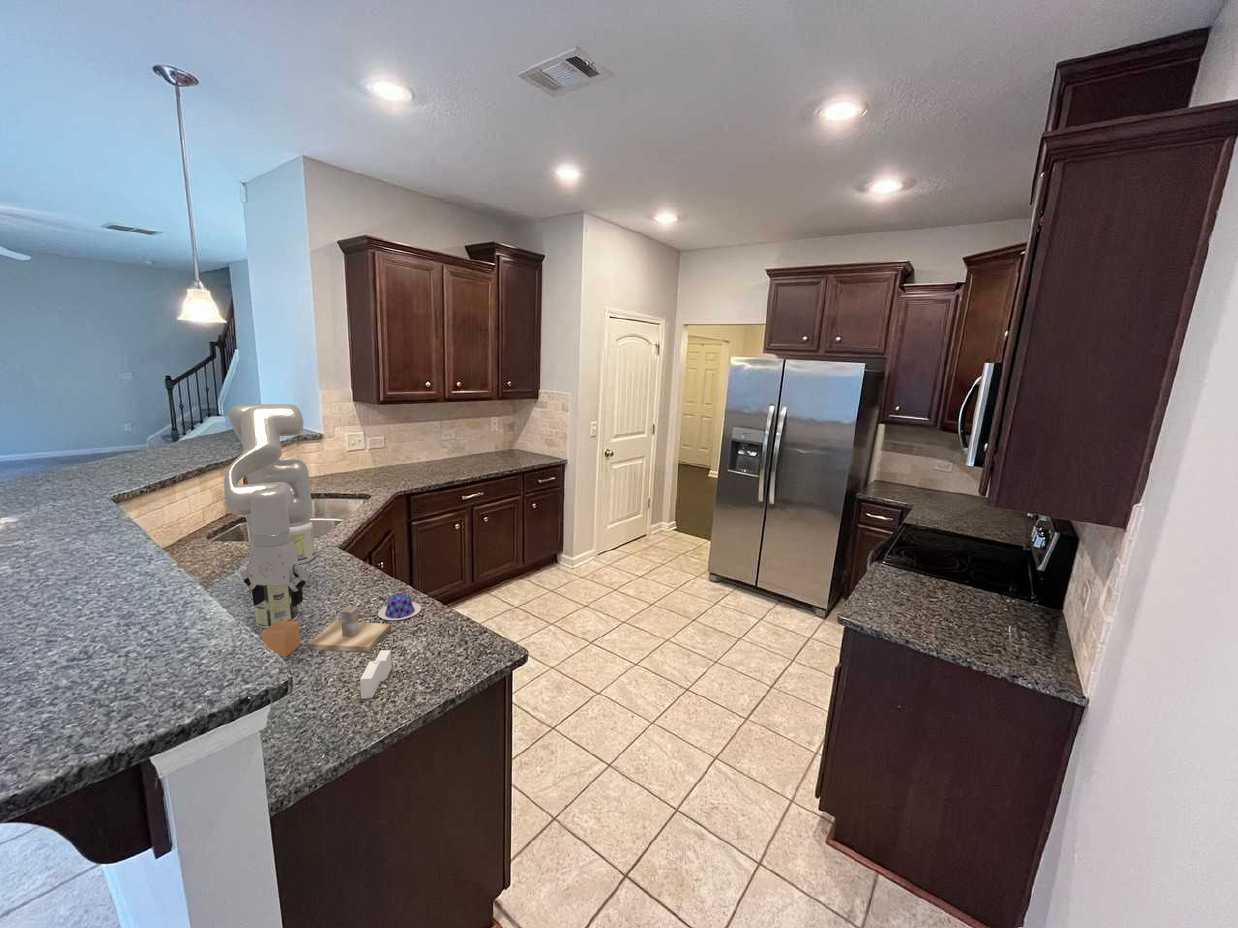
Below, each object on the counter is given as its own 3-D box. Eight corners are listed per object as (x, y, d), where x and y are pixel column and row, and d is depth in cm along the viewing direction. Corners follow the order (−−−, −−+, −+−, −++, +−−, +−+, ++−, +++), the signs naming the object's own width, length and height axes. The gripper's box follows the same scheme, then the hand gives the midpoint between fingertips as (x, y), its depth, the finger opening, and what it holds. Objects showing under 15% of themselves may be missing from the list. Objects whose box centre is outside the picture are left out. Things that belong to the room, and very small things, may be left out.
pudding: (376, 625, 145) (375, 608, 144) (379, 606, 156) (378, 590, 155) (421, 619, 149) (420, 602, 148) (421, 601, 160) (420, 586, 159)
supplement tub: (294, 552, 195) (290, 510, 192) (323, 555, 193) (320, 513, 190) (268, 564, 183) (264, 520, 180) (299, 567, 182) (295, 522, 178)
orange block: (264, 655, 128) (261, 631, 127) (279, 643, 133) (277, 620, 132) (286, 656, 128) (283, 632, 126) (300, 644, 133) (298, 621, 132)
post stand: (308, 649, 131) (305, 618, 130) (335, 625, 143) (332, 597, 142) (369, 652, 131) (367, 621, 129) (390, 628, 143) (389, 600, 141)
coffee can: (281, 608, 152) (276, 564, 149) (306, 615, 149) (303, 569, 146) (246, 624, 142) (241, 577, 140) (273, 631, 139) (268, 583, 136)
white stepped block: (366, 709, 110) (365, 686, 109) (334, 692, 116) (333, 669, 115) (422, 674, 123) (422, 653, 122) (391, 660, 129) (390, 639, 128)
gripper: (225, 542, 121) (233, 609, 124) (296, 544, 121) (302, 611, 124) (249, 532, 129) (255, 596, 132) (316, 535, 128) (321, 598, 131)
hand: (278, 603), depth 128 cm, fingers open, 9 cm apart
